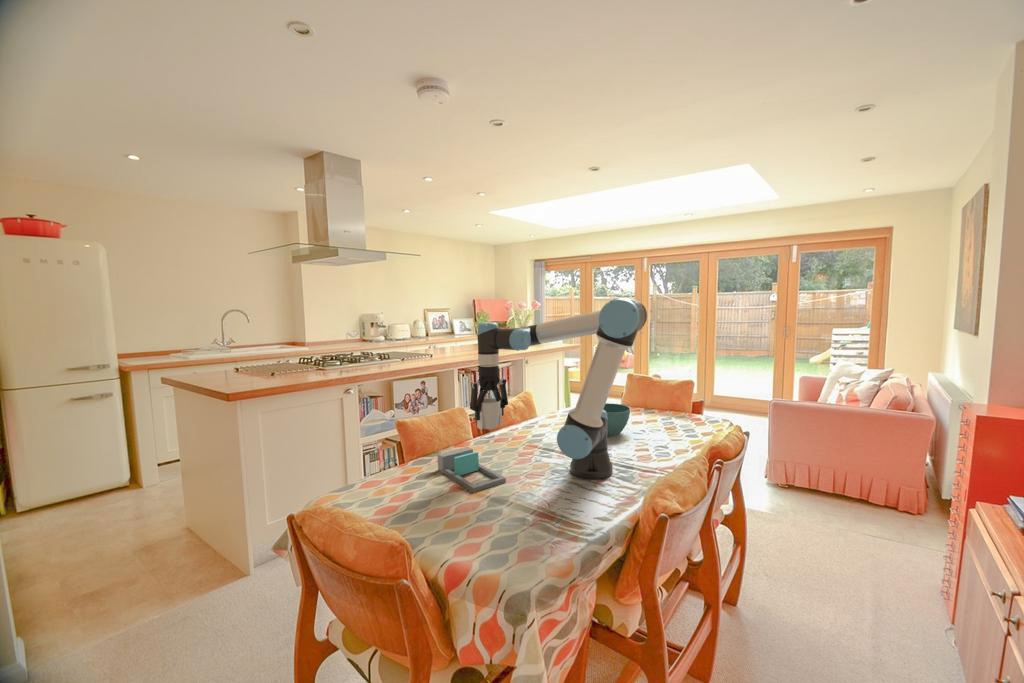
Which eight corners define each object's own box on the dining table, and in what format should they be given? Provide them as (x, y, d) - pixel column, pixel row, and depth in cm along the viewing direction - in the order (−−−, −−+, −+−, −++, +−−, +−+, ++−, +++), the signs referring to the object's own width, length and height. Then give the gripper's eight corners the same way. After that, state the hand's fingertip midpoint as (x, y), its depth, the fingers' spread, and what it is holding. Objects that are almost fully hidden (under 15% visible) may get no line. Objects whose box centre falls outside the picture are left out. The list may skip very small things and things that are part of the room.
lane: (505, 482, 150) (505, 465, 150) (473, 492, 143) (473, 474, 142) (468, 461, 171) (467, 446, 170) (438, 469, 163) (437, 454, 163)
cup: (504, 425, 162) (504, 399, 161) (493, 431, 155) (493, 404, 154) (486, 423, 166) (485, 397, 165) (474, 428, 159) (474, 401, 158)
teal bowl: (599, 425, 215) (599, 401, 214) (635, 431, 205) (635, 405, 203) (583, 435, 201) (583, 409, 199) (621, 442, 190) (621, 414, 189)
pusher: (478, 470, 161) (478, 452, 161) (456, 476, 156) (455, 458, 155) (472, 466, 165) (471, 449, 164) (450, 472, 159) (449, 454, 159)
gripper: (506, 361, 167) (507, 419, 169) (458, 366, 156) (460, 429, 158) (517, 363, 161) (518, 424, 163) (468, 369, 150) (470, 434, 152)
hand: (489, 426), depth 160 cm, fingers closed on cup, 8 cm apart
